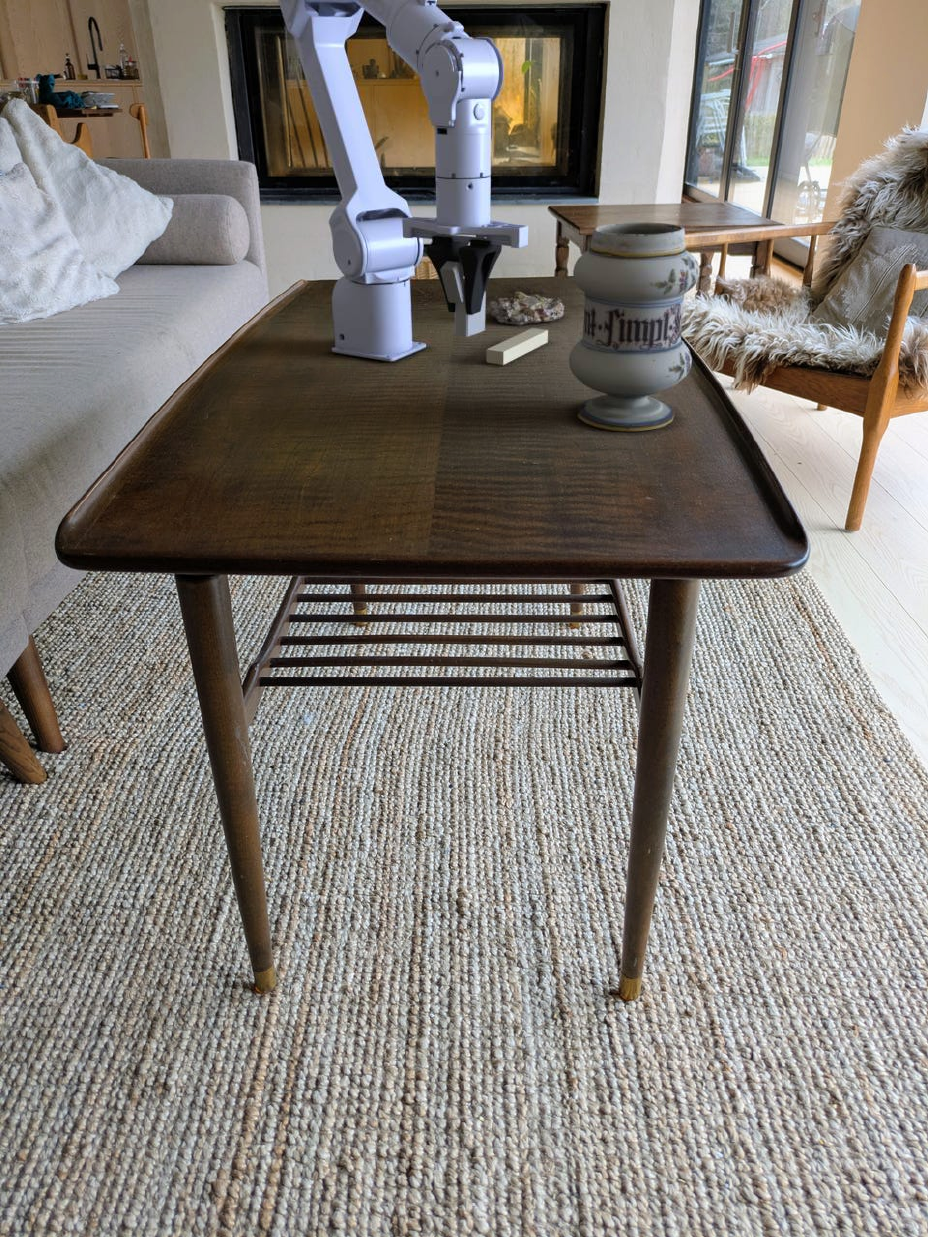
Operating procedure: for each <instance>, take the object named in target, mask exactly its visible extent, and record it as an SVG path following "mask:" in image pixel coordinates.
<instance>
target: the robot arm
mask: <svg viewBox="0 0 928 1237" xmlns="http://www.w3.org/2000/svg"><path fill="white" fill-rule="evenodd" d="M437 2H438V0H278V4H279V7H280V11H281V13H282V17H283V20H284V23H285V27H286V30H287V31H288V33H289V34H291V35H292V36H293V39H294V44H295V47H296V48H295V49H296V51H297V56H298V57H299V61H300V65H301V67H302V71H303V74H304V78H305V80H306V84H307V87H308V90H309V94H310V97H311V100H312V103H313V107H314V110H315V113H316V117H317V120H318V124H319V126H320V130H321V133H322V136H323V139H324V143H325V147H326V149H327V152H328V156H329V159H330V162H331V166H332V169H333V172H334V175H335V178H336V181H337V182H336V183H337V185H338V188H339V189H338V190H339V192H340V195H341V200H340V202H339V203H338V204H337V205H336V207H335V209H333V211H332V213H331V215H330V217H329V220H328V224H329V228H330V232H331V233H330V234H331V238H332V253H333V257H334V262H335V263H336V266H337V268H338V269H339V271H340V272H341V273H342V274H343V276H341V277H340V278H338V280H337V281H336V282H335V284H334V287H333V290H332V295H331V309H332V319H333V320H332V322H333V330H334V331H333V333H334V345H335V346H334V347H332V348H331V352H332V353H336V354H341V355H348V356H354V357H359V358H367V359H373V360H379V361H385V362H392V363H393V362H395V361H398V360H400V359H403V358H404V357H406V356H410V355H412V354H413V353H417V352H419V351H421V350H423V349H425V348H427V344H426V343H424V342H419V341H413V327H412V303H411V301H412V299H411V279H410V278H411V277H415V269H416V268H417V267H418V266H419V265H420V264H421V261H422V258H423V254H424V239H426V240H431V242H430V245H427V246H425V252H426V255H427V257H428V258H429V260H430V262H431V264H432V266H433V268H434V270H435V272H436V274H437V276H438V279H439V282H440V284H441V287H442V292H443V295H444V299H445V302H446V307H447V311H448V313H455V303H451V302H449V301H448V298H447V294H446V290H445V287H444V283H443V279H442V275H441V271H440V269H441V268H442V267H443V266H444V264H445V263H446V262H447V261H449V262H458V263H459V264H460V266H461V271H462V275H463V279H464V283H465V308H466V314H468V315H473V314H476V313H478V312H481V306H482V301H483V297H484V293H485V291H486V289H487V285H488V282H489V279H490V277H491V274H492V271H493V269H494V266H495V265H496V262H497V260H498V258H499V257H500V254H501V253H502V251H503V250H502V248H503V246H505V247H510V248H511V249H512V248H513V249H521V248H524V247H527V246H528V245H529V225H523V224H515V223H508V222H502V221H496V220H491V195H492V194H491V189H492V188H491V183H492V182H491V181H492V179H491V177H492V176H491V175H492V171H491V170H492V104H493V103H494V102H495V101H496V100H497V98H498V97H499V95H500V94H501V91H502V88H503V85H504V78H505V66H504V61H503V57H502V56H503V55H502V54H501V51H500V50H499V48H498V47H497V45H496V44H495V43H494V41H493V39H492V38H491V37H488V36H477V37H472V36H469V35H468V33H467V32H465V31H464V29H465V28H464V26H463V25H462V23H461V22H459V21H456V20H455V21H453V20H452V19H451V18H450V17H449V16H448V15H447V14H445V13H444V11H442V10H441V9H440V8H439V7H438V6H437ZM364 12H367V13H368V14H369V15H370V16H372V17H373V18H374V19H375V20H377V21H378V22H379V23H381V25H383V26H384V27H385V35H386V40H387V43H388V45H389V47H390V48H391V49H392V51H393V52H395V54H397V55H398V57H400V58H401V59H402V60H403V61H404V62H405V63H406V64H407V65H408V66H409V67H410V68H411V69H412V70H413V71H414V72H416V74H417V75H418V76H419V79H420V85H421V90H422V92H423V95H424V97H425V99H426V102H427V107H428V120H430V125H431V126H432V127H433V128H434V158H435V159H434V164H435V165H434V166H435V168H434V169H435V206H436V207H435V209H436V212H435V213H436V217H425V216H423V217H421V216H420V217H419V216H413V215H412V213H411V211H410V208H409V205H408V202H407V200H406V199H405V198H403V197H402V196H401V195H399V194H398V193H397V192H395V191H393V190H392V189H391V188H389V187H388V186H387V185H386V182H385V180H384V177H383V174H382V170H381V167H380V163H379V160H378V156H377V152H376V149H375V146H374V143H373V139H372V136H371V133H370V130H369V126H368V123H367V119H366V116H365V113H364V109H363V105H362V102H361V99H360V95H359V92H358V88H357V86H356V82H355V79H354V76H353V72H352V69H351V65H350V62H349V59H348V56H347V52H346V49H345V45H346V44H345V43H346V41H347V39H349V38H350V37H351V36H353V35H354V34H355V33H356V32H357V29H358V26H359V23H360V22H361V19H362V17H363V14H364Z"/></svg>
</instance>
